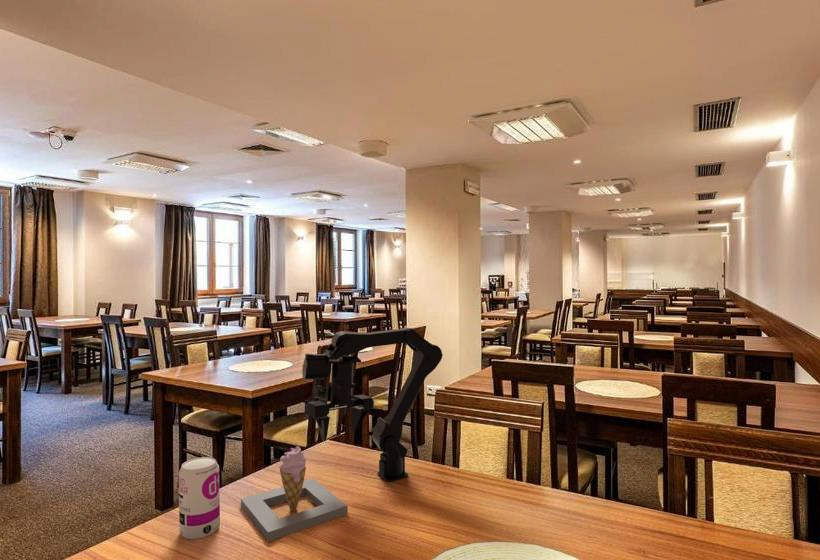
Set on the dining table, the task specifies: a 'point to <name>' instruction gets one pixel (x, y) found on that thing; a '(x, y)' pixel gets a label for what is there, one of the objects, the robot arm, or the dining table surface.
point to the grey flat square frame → (277, 528)
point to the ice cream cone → (293, 475)
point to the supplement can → (199, 498)
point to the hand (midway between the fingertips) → (338, 437)
